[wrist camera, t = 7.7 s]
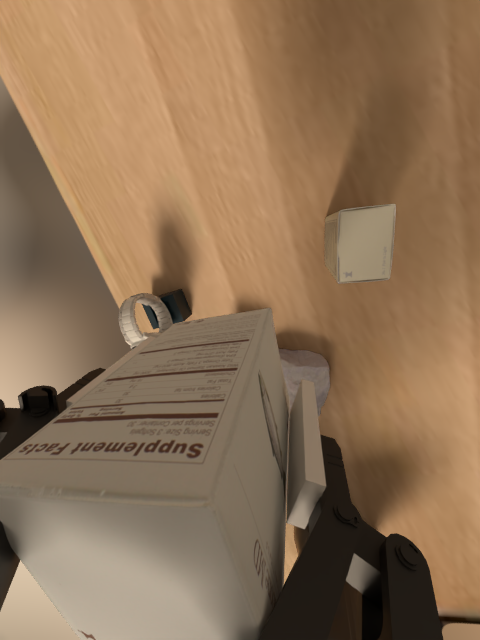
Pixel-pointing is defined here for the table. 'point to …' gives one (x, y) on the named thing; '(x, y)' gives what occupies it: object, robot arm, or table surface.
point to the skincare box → (360, 243)
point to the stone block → (305, 373)
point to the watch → (152, 314)
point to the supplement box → (162, 490)
